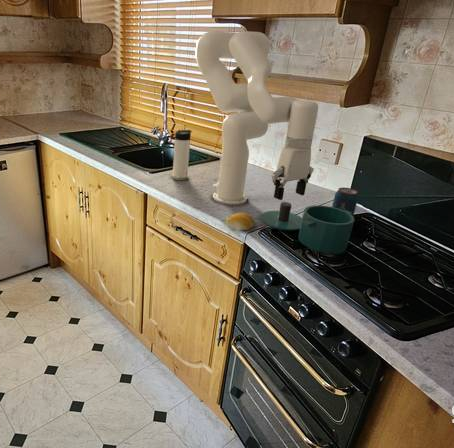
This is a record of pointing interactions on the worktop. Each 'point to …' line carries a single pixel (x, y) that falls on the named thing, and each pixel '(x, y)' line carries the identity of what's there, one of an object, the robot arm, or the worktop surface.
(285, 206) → the lid
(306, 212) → the pot
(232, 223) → the bread roll
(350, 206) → the soda can
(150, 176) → the worktop surface
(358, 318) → the worktop surface
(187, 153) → the travel mug
